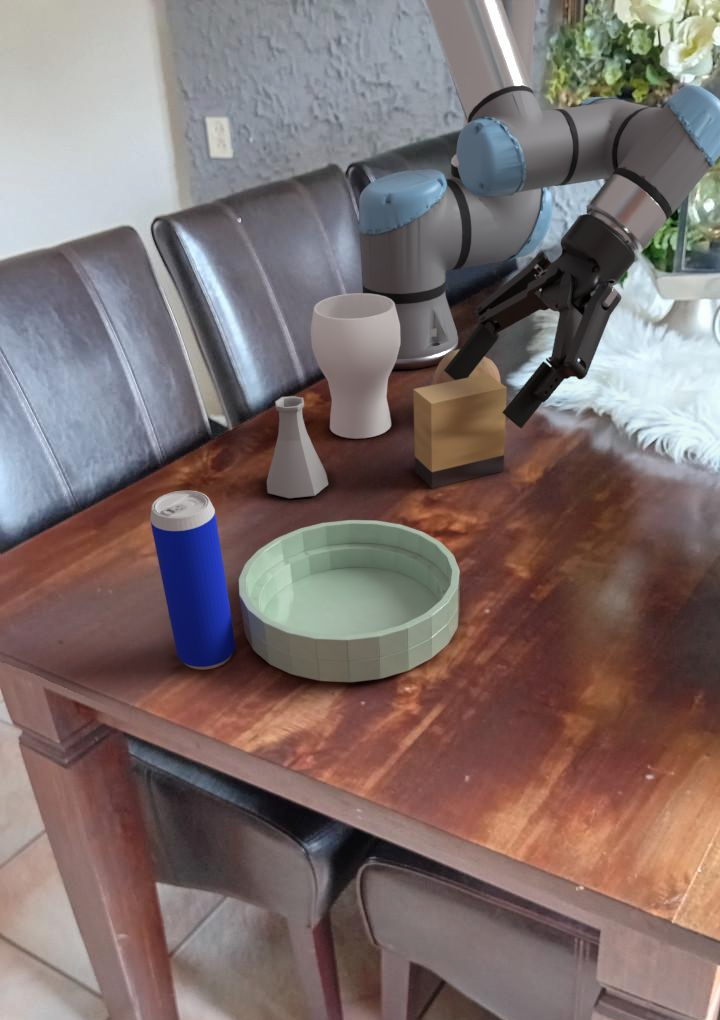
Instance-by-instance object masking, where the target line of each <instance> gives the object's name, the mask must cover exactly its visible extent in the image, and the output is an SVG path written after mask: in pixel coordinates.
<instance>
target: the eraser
mask: <svg viewBox="0 0 720 1020" xmlns="http://www.w3.org/2000/svg"><path fill="white" fill-rule="evenodd" d="M500 382H501V381H500ZM500 382H498V381H497V380H495V379H494V378H493V377H491V376H490V375H488V374H483V375H478V376H473V377H468V378H464V379H459V380H454V381H449V382H445V383H440V384H435V385H433V384H430V385H425V386H422V387H417V388H413V428H414V429H413V435H414V441H413V442H414V443H413V444H414V473H415V474H416V475H417V476H418V477H419V478H420V479H421V480H422V481H423V482H425V484H427V486H429V488H431V489H436V488H440V487H444V486H449V485H453V484H456V483H461V482H466V481H469V480H474V479H478V478H481V477H485V476H489V475H490V476H491V475H493V474H497V473H502V472H504V469H505V468H504V467H505V446H506V445H505V444H506V442H505V440H506V417H507V416H505V415H504V414H503V413H502V412H503V411H504V410H505V408H506V407H507V390H508V389H507V388H508V387H507V386H505V385H504V384H503V383H500Z"/></svg>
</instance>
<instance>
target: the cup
mask: <svg viewBox="0 0 720 1020" xmlns="http://www.w3.org/2000/svg"><path fill="white" fill-rule="evenodd" d="M310 342H311V350H312V352H313V355H314V358H315V360H316V363H317V366H318V368H319V369H320V371H321V372H322V375H324V377H325V379H326V381H327V383H328V388H329V389H328V390H329V393H330V398H331V405H330V415H329V429H330V431H331V433H333V434H334V435H336V436H339V437H341V438H345V439H355V440H357V439H367V438H373V437H377V436H380V435H382V434H385V433H386V432H387V431H389V430H390V429H391V427H392V418H391V411H390V407H389V402H388V399H387V398H388V397H387V394H388V384H389V377H390V375H391V374H392V371H393V370H394V369H393V367H394V365H395V363H396V360H397V356H398V352H399V348H400V344H401V343H400V322H399V319H398V315H397V311H396V307H395V303H394V302H393V301H392V300H391V299H390V298H387V297H385V296H381V295H377V294H368V293H363V292H362V293H361V292H356V293H345V294H339V295H333V296H329V297H326V298H324V299H322V300H320V301H318V302H317V303H316V304H315V305H314V306H313V310H312V317H311V323H310Z"/></svg>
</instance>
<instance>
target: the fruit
mask: <svg viewBox="0 0 720 1020" xmlns="http://www.w3.org/2000/svg"><path fill="white" fill-rule="evenodd" d="M460 349H461V348H458V350H454V351H451V352H450V353H448V354H447V355H446V356H445V357H444V358H443V359H442V360H441V361H440V363H439V364H437V367H436V369H435V372H434V374H433V379H432V385H435V384H440V383H445V382H449V381H454V379H453V378H452V377H451V376H450V375H448V374H447V373H446V372H445V371H444V370H445V368H446V367H447V366H448V364H449V363H450V362H451V360H452V359H453V358H454V357H455V355H456V354H457V353H458V351H459V350H460ZM483 374H488V375H490V376H491V377H493V378H494V379H495V380H497V381H498V382H500V383H501V376H500V371H499V369H498V367H497V365H496V364H495V363H494V362H493V360H491V359H490V358H488V357H486V355H485V356H484V358H483V359H482V360H481V361H480V363H479V364H478V365H477V366H476V368H475V369H474V370H473V372H472V373H471V374H470V375H469V377H473V376H478V375H483ZM501 384H502V383H501Z"/></svg>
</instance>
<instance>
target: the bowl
mask: <svg viewBox="0 0 720 1020" xmlns="http://www.w3.org/2000/svg"><path fill="white" fill-rule="evenodd" d="M460 575H461V571H460V567H459V565H458V563H457V560H456V558H455V555H454V554H453V552H451V551H450V550H449V549H448V548H447V547H446V545H444V544H443V542H441V541H440V540H438V539H436V538H435V537H433V536H432V535H430V534H428V533H426V532H424V531H423V530H422V531H421V530H419V529H416V528H412V527H410V526H406V525H405V524H401V523H395V522H387V521H382V520H371V519H369V520H366V519H346V520H338V521H329V522H321V523H317V524H313V525H308V526H304V527H300V528H298V529H295V530H293V531H290V532H288V533H286V534H283V535H280V536H278V537H277V538H275V539H273V540H271V541H270V542H268V543H266V544H265V545H264V546H262V547H260V548H259V549H257V550H256V551H255V552H254V554H253V555H252V556H251V557H250V558H249V559H248V560H247V561H246V562H245V563H244V565H243V568H242V570H241V573H240V575H239V577H238V596H239V602H240V610H241V616H242V623H243V629H244V636H245V637H246V640H247V641H248V643H249V645H250V647H251V649H252V650H253V651H254V652H255V653H256V654H257V655H258V656H259V657H260V658H262V659H263V660H264V661H265V662H266V663H268V664H269V665H270V666H273V667H275V668H277V669H279V670H281V671H283V672H285V673H287V674H289V675H293V676H296V677H301V678H305V679H310V680H314V681H319V682H335V683H357V682H365V681H373V680H381V679H384V678H388V677H393V676H395V675H399V674H401V673H406V672H408V671H411V670H412V669H414V668H416V667H418V666H420V665H423V664H424V663H426V662H427V661H429V660H431V659H433V658H434V657H436V655H438V653H440V652H441V651H442V650H443V649H444V648H445V647H447V646H448V644H449V643H450V642H451V640H452V638H453V637H454V634H455V633H456V631H457V629H458V627H459V618H460V599H461V597H460V596H461V595H460V593H461V591H460V585H461V584H460V583H461V581H460V579H461V576H460Z"/></svg>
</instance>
